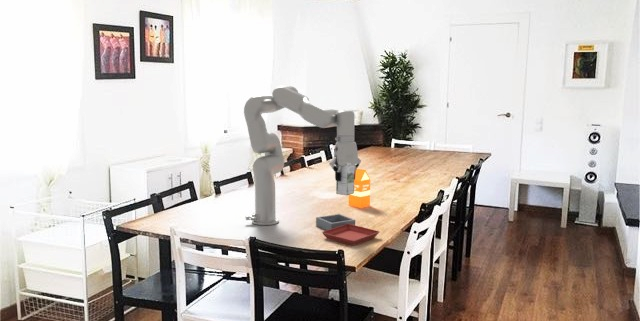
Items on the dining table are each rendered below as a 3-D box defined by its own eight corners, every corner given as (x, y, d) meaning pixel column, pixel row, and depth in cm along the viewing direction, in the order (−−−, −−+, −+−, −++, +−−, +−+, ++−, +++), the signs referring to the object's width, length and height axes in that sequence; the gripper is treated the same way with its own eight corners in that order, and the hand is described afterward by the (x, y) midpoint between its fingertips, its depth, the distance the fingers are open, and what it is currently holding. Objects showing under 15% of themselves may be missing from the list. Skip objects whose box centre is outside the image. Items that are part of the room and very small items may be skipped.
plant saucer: (353, 248, 219) (354, 240, 219) (320, 239, 231) (321, 231, 231) (380, 238, 233) (380, 231, 232) (347, 230, 245) (347, 223, 244)
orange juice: (357, 203, 299) (358, 167, 296) (370, 205, 292) (370, 169, 289) (348, 205, 293) (348, 168, 290) (360, 208, 287) (361, 170, 284)
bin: (331, 232, 240) (331, 223, 240) (316, 225, 251) (316, 217, 251) (355, 228, 247) (355, 219, 247) (339, 222, 258) (339, 213, 258)
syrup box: (343, 192, 240) (343, 159, 238) (354, 193, 237) (354, 160, 235) (336, 194, 236) (336, 161, 234) (347, 195, 232) (347, 162, 230)
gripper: (333, 141, 225) (333, 183, 228) (367, 138, 234) (366, 179, 237) (323, 139, 231) (324, 180, 234) (356, 137, 241) (356, 176, 243)
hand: (345, 179), depth 235 cm, fingers closed on syrup box, 7 cm apart
